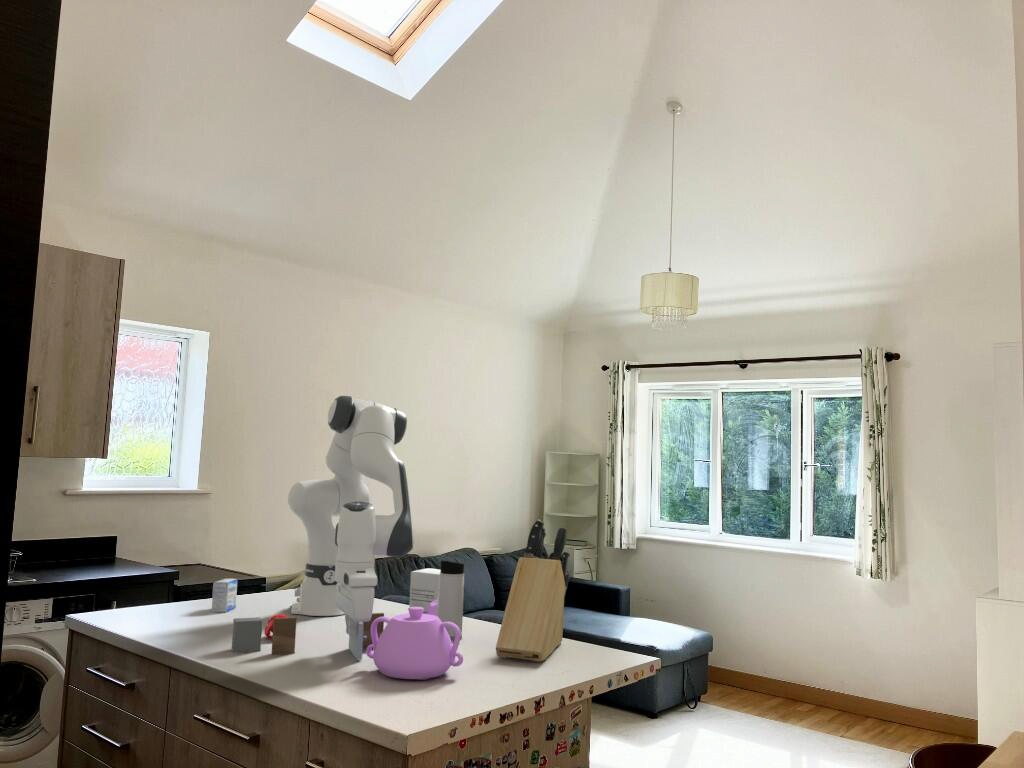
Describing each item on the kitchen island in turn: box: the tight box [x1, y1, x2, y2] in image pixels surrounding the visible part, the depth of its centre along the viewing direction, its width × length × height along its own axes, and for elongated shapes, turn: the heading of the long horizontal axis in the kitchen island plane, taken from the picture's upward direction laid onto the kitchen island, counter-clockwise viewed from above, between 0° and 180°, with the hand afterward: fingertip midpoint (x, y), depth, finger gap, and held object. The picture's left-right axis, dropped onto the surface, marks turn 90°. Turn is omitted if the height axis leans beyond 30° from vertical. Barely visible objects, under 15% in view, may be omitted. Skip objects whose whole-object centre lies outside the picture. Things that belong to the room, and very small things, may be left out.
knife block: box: [495, 519, 571, 663], centre depth 201 cm, size 11×35×31 cm, turn 165°
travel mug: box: [438, 559, 465, 642], centre depth 207 cm, size 6×7×20 cm
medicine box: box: [211, 578, 238, 614], centre depth 235 cm, size 8×4×9 cm, turn 179°
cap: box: [264, 613, 288, 640], centre depth 201 cm, size 8×6×6 cm
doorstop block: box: [231, 616, 263, 654], centre depth 187 cm, size 4×6×7 cm, turn 115°
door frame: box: [271, 612, 385, 656], centre depth 189 cm, size 1×26×8 cm, turn 115°
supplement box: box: [408, 567, 441, 617], centre depth 223 cm, size 9×9×15 cm
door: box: [348, 622, 367, 661], centre depth 186 cm, size 13×2×8 cm, turn 21°
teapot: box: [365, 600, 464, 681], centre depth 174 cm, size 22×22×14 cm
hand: (351, 634), depth 183 cm, fingers closed
